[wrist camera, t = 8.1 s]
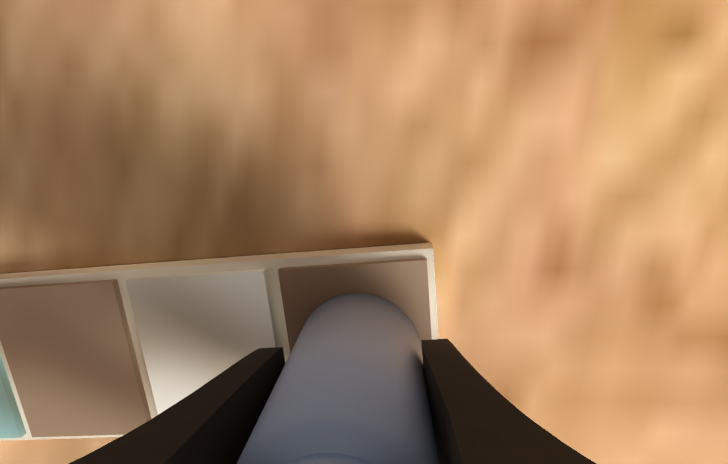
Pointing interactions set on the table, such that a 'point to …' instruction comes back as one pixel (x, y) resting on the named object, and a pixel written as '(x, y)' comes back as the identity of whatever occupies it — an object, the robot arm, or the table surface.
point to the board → (172, 329)
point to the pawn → (349, 391)
